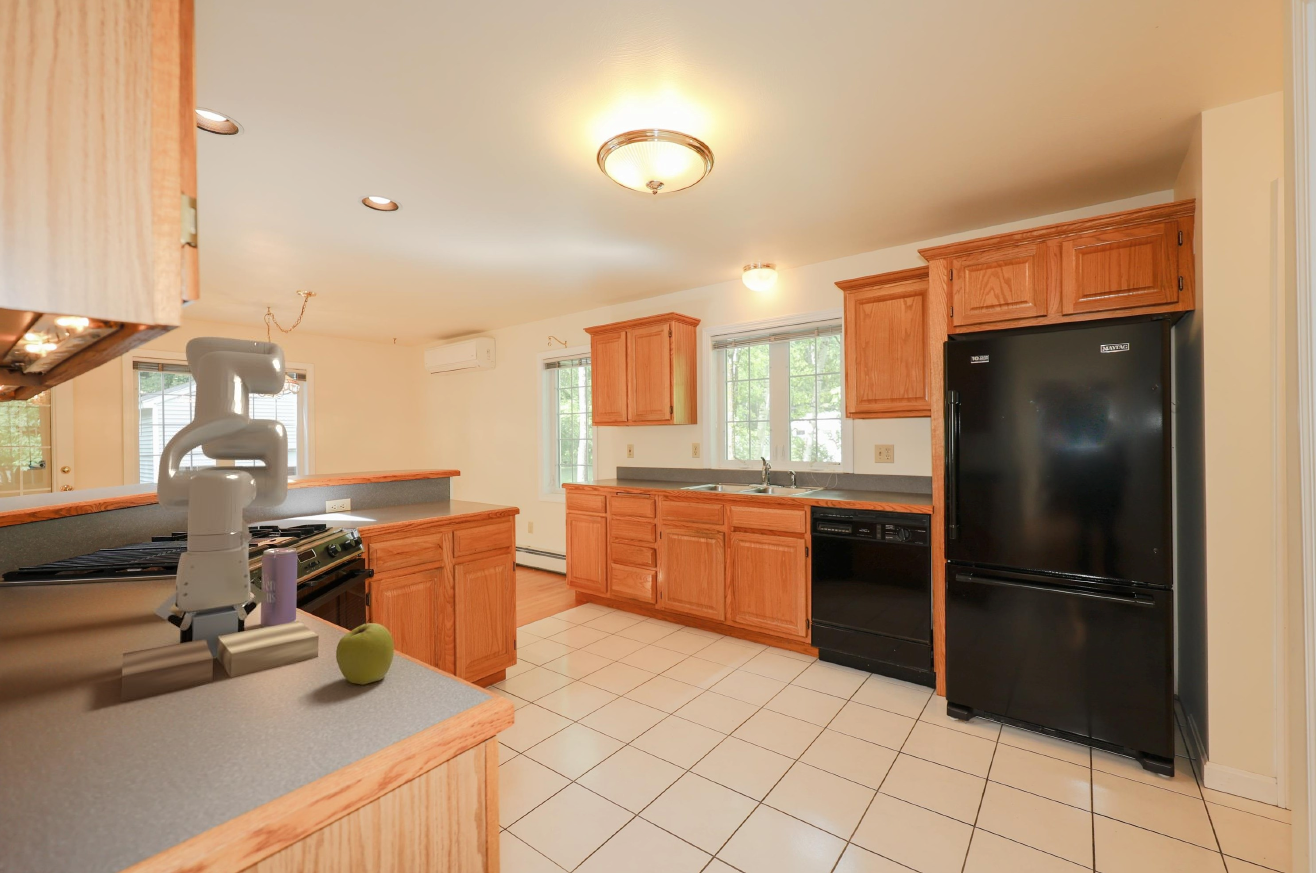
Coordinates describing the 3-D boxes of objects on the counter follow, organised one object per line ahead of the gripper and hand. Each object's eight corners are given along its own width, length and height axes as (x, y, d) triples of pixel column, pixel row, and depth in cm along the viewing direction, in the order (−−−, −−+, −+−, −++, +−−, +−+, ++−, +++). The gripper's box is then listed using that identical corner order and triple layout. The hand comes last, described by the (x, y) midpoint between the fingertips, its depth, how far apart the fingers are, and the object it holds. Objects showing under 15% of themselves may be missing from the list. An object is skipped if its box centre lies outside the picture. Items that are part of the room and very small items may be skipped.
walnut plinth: (122, 679, 87) (122, 653, 87) (204, 662, 94) (205, 638, 94) (121, 704, 78) (122, 675, 78) (212, 684, 85) (212, 658, 85)
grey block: (187, 651, 98) (188, 611, 98) (230, 643, 102) (231, 604, 102) (193, 660, 94) (194, 618, 94) (237, 651, 98) (238, 611, 98)
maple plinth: (216, 659, 95) (217, 636, 95) (298, 642, 104) (298, 620, 104) (231, 679, 87) (231, 653, 87) (318, 659, 96) (318, 635, 96)
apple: (402, 658, 92) (397, 605, 89) (387, 692, 85) (382, 635, 82) (350, 661, 91) (343, 607, 88) (330, 696, 83) (323, 639, 81)
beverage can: (302, 620, 116) (304, 547, 117) (280, 629, 110) (282, 552, 111) (276, 619, 117) (277, 547, 117) (252, 628, 111) (254, 552, 111)
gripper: (268, 535, 107) (266, 630, 107) (146, 546, 95) (144, 653, 94) (278, 539, 102) (276, 639, 102) (151, 551, 90) (148, 665, 89)
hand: (212, 645), depth 98 cm, fingers closed on grey block, 6 cm apart
